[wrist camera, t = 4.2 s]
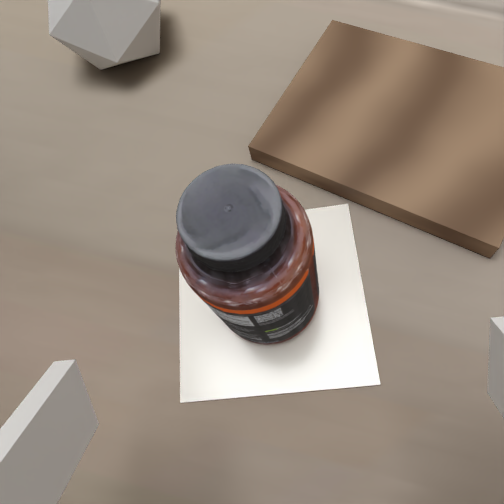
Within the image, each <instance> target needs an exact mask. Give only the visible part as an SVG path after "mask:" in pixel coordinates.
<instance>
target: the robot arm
mask: <svg viewBox="0 0 504 504" xmlns="http://www.w3.org/2000/svg"><path fill="white" fill-rule="evenodd" d="M487 393H488V395H489V396H490V398H491V399H492V401H493V402H494V404H495V406H496V407H497V409H498V410H499V412H500V414H501V415H502V417H503V418H504V316H503V317H493V318H490V335H489V362H488V389H487ZM98 425H99V423H98V420H97V417H96V414H95V412H94V409H93V406H92V403H91V401H90V398H89V395H88V392H87V390H86V387H85V384H84V381H83V379H82V376H81V373H80V370H79V368H78V365H77V362H76V359H75V360H65V361H55V362H53V364H52V365H51V366H50V367H49V369H48V370H47V371H46V372H45V374H44V375H43V376H42V377H41V379H40V380H39V381H38V382H37V384H36V385H35V386H34V387H33V389H32V390H31V391H30V392H29V394H28V395H27V396H26V397H25V399H24V400H23V401H22V402H21V404H20V405H19V406H18V407H17V409H16V410H15V411H14V412H13V414H12V415H11V416H10V417H9V419H8V420H7V421H6V422H5V424H4V425H3V426H2V427H1V429H0V504H57V503H58V501H59V499H60V497H61V495H62V493H63V491H64V490H65V488H66V486H67V484H68V482H69V480H70V478H71V476H72V474H73V472H74V471H75V469H76V467H77V465H78V463H79V461H80V459H81V457H82V455H83V454H84V452H85V450H86V448H87V446H88V444H89V442H90V440H91V438H92V437H93V435H94V433H95V431H96V429H97V427H98Z"/></svg>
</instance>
